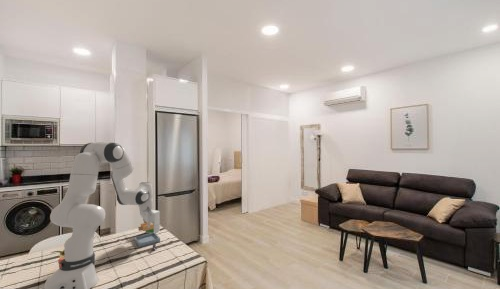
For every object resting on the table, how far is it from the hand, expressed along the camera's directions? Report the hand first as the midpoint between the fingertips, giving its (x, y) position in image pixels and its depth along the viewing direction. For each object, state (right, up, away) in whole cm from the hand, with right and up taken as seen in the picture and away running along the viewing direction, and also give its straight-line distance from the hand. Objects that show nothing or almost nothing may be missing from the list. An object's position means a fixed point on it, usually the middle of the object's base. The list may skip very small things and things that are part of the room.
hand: (147, 225), depth 157 cm
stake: (+10, -11, -12) cm, 19 cm away
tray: (0, -11, 0) cm, 11 cm away
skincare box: (-3, -11, +17) cm, 20 cm away
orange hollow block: (0, -2, 0) cm, 2 cm away
